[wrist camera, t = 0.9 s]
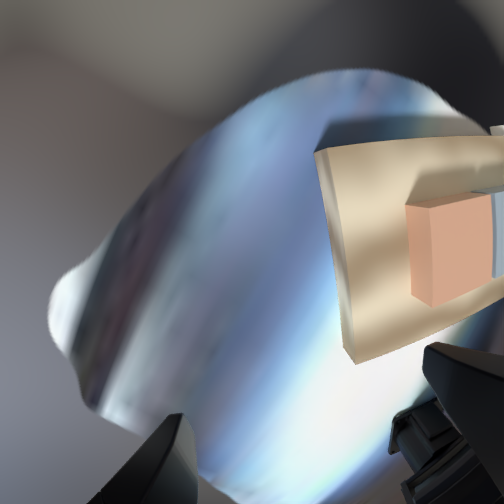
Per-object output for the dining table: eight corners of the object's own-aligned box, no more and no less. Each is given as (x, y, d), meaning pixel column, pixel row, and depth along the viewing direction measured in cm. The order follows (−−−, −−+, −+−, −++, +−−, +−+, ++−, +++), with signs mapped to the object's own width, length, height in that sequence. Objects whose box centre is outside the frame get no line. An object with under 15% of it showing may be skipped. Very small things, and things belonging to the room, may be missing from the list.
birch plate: (498, 282, 21) (514, 290, 19) (343, 347, 21) (355, 364, 18) (490, 137, 18) (509, 135, 16) (313, 152, 18) (326, 147, 15)
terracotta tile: (469, 271, 18) (491, 280, 15) (411, 294, 18) (432, 308, 15) (466, 191, 16) (490, 194, 14) (404, 204, 16) (428, 208, 14)
